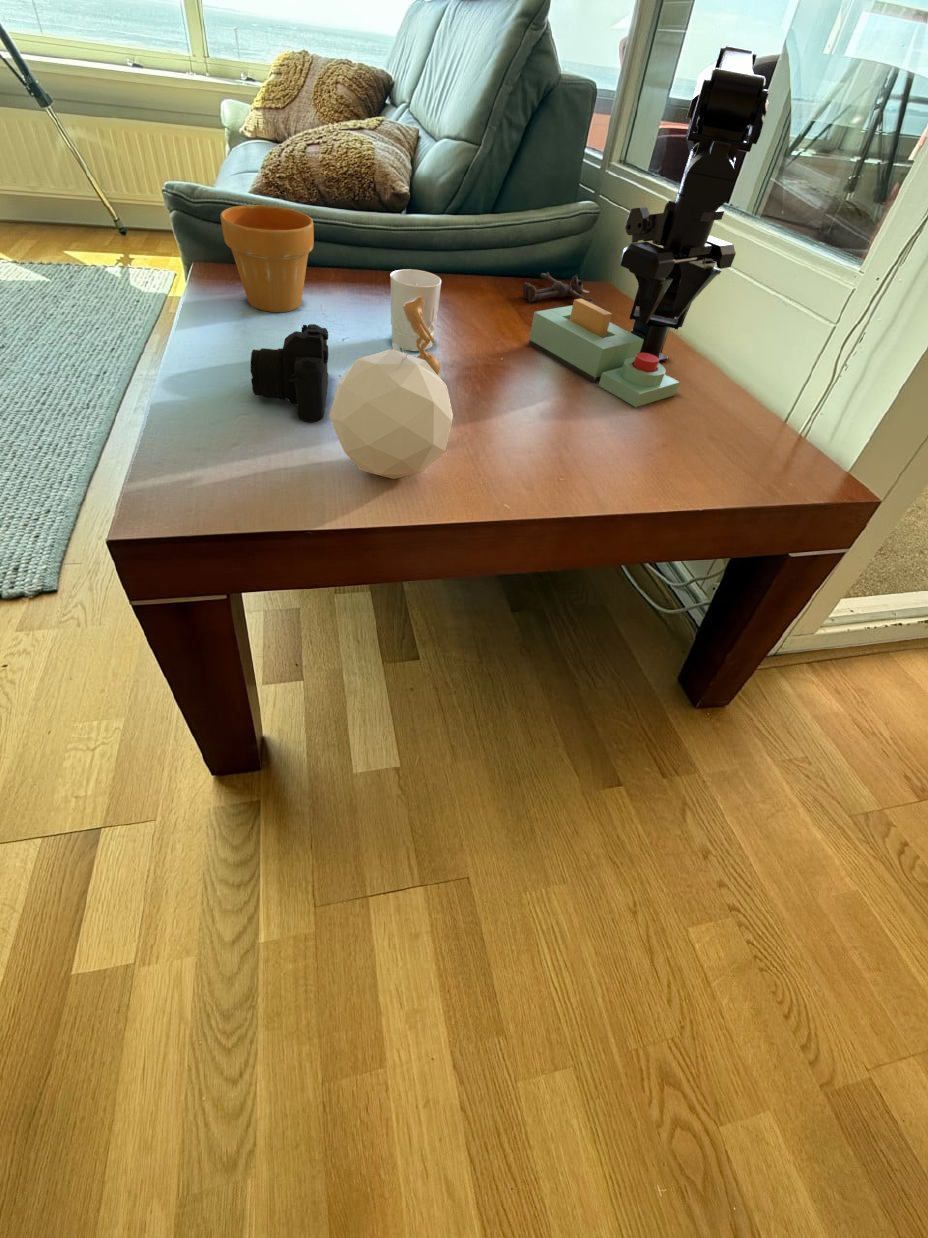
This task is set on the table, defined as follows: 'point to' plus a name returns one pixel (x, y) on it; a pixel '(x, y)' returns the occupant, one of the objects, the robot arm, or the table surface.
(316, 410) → the film camera
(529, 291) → the brown humanoid figure
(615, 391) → the control block
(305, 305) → the table surface
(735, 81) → the robot arm
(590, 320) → the toast
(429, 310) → the white cup
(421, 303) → the figurine
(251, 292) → the flower pot
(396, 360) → the geodesic sphere
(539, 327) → the toaster
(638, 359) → the button
